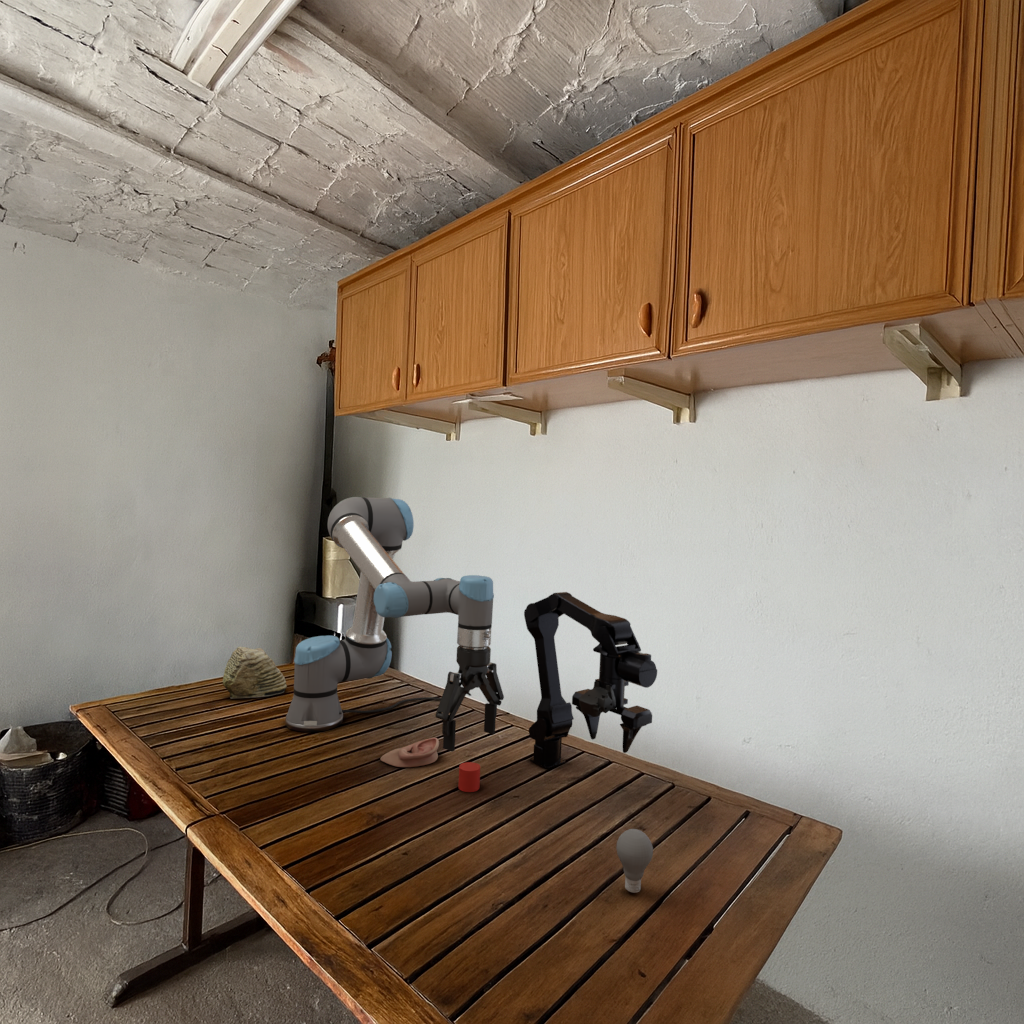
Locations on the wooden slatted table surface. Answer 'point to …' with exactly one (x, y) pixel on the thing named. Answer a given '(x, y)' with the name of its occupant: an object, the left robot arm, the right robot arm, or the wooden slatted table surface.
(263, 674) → the fossil
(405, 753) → the anatomical model
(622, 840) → the light bulb
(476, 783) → the canister
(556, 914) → the wooden slatted table surface
